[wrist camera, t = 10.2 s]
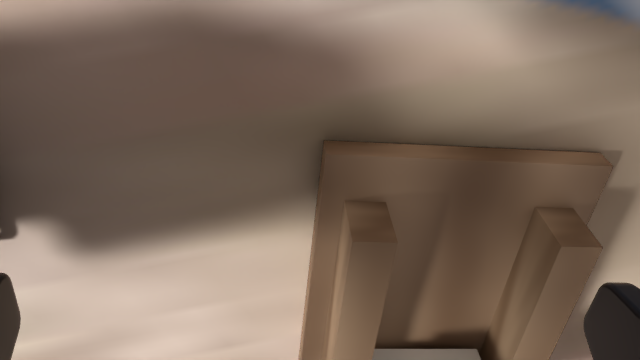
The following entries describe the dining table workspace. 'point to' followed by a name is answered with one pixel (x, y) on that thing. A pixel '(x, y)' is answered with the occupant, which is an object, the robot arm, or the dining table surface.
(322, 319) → the gauge bench
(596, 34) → the dining table surface
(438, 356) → the pale grey cube box
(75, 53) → the dining table surface
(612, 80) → the dining table surface
